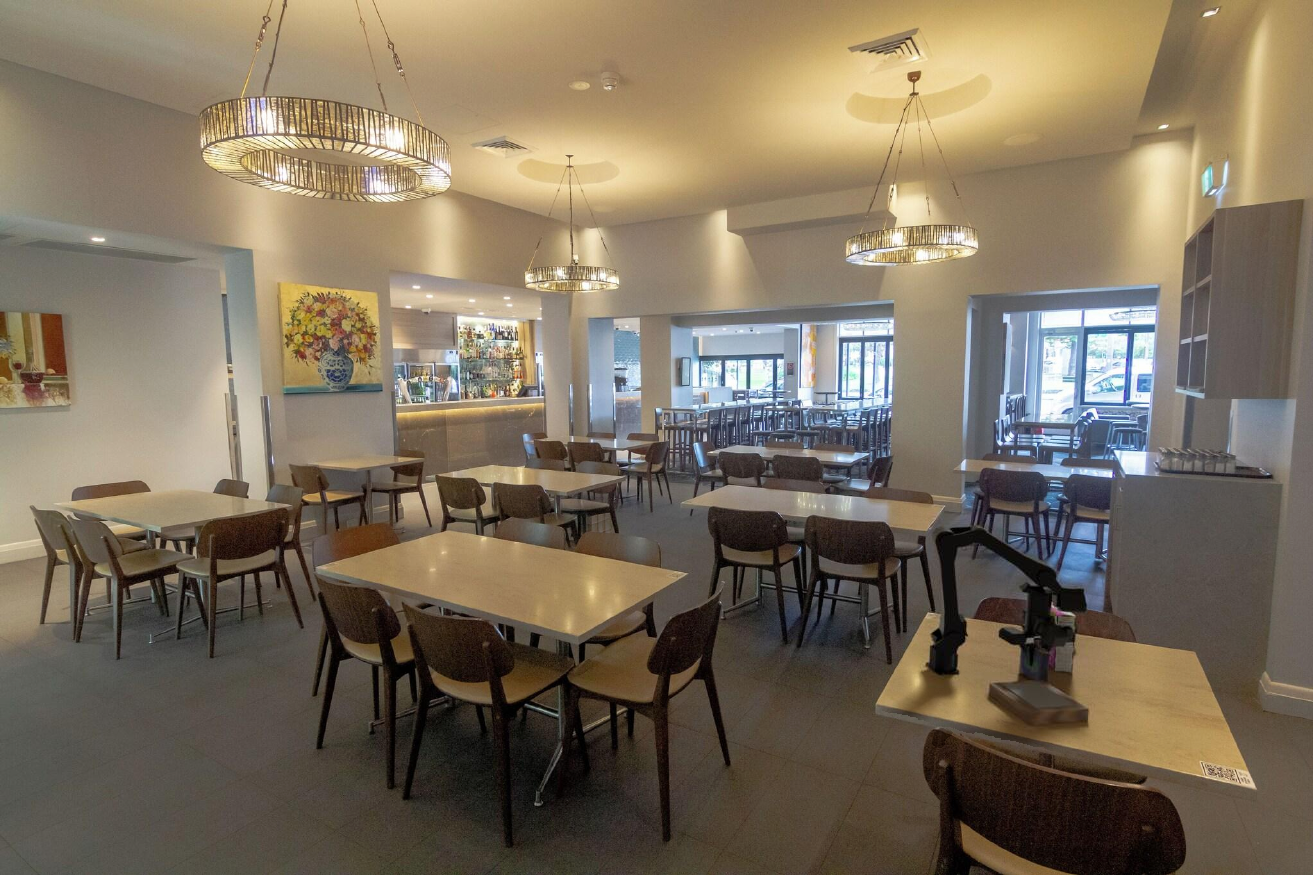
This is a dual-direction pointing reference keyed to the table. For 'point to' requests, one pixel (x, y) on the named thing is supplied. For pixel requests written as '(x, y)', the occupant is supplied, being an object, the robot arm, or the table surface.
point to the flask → (1036, 664)
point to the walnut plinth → (1038, 702)
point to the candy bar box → (1064, 655)
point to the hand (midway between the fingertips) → (1034, 665)
